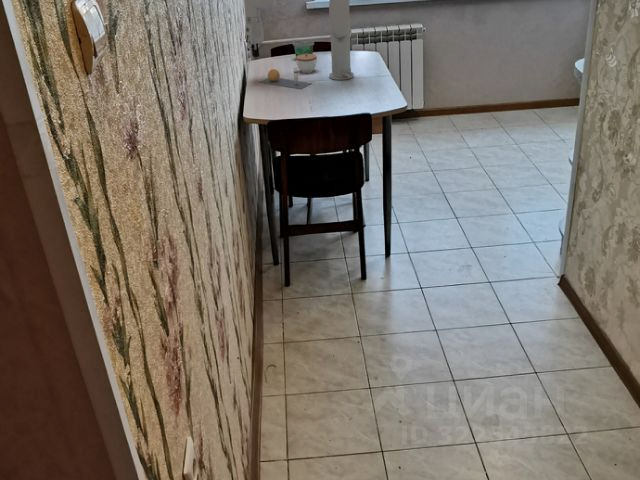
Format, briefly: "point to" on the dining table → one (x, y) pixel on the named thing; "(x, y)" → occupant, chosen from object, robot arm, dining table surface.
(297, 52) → the food container
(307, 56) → the lidded jar
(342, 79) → the robot arm
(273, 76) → the ball
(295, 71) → the pin
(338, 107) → the dining table surface
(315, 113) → the dining table surface
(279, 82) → the grey flat board
